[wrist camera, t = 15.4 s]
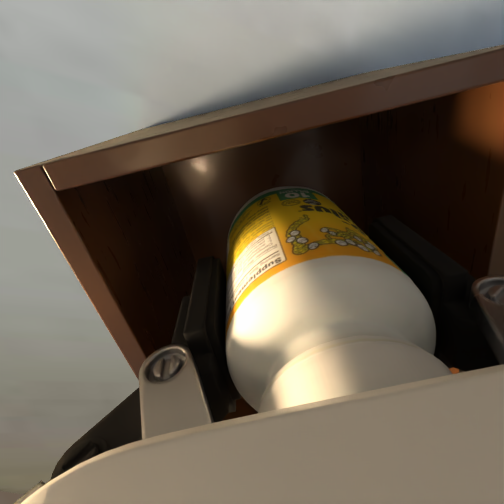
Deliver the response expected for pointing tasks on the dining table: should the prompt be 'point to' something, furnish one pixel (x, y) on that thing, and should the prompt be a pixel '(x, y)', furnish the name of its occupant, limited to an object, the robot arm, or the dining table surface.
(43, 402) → the dining table surface
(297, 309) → the supplement bottle
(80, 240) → the chest
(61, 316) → the dining table surface
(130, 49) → the dining table surface
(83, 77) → the dining table surface
